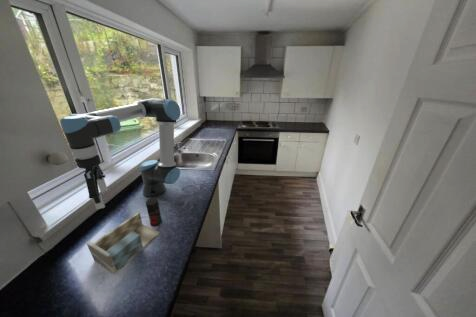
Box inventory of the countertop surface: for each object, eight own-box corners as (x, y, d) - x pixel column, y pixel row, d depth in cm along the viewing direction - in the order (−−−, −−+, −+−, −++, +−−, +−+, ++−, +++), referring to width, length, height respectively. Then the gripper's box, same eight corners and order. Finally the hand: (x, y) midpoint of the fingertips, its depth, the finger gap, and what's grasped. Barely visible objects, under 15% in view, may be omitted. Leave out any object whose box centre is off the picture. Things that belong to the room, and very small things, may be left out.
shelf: (141, 224, 99) (137, 209, 95) (159, 233, 94) (156, 217, 89) (94, 260, 79) (86, 243, 75) (114, 274, 74) (107, 256, 69)
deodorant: (164, 220, 103) (160, 199, 97) (157, 227, 98) (152, 205, 92) (155, 217, 104) (151, 197, 98) (148, 225, 99) (143, 203, 93)
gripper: (81, 147, 78) (96, 187, 87) (65, 171, 59) (87, 219, 68) (101, 144, 82) (114, 183, 91) (93, 166, 62) (110, 213, 71)
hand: (102, 198), depth 79 cm, fingers open, 13 cm apart
